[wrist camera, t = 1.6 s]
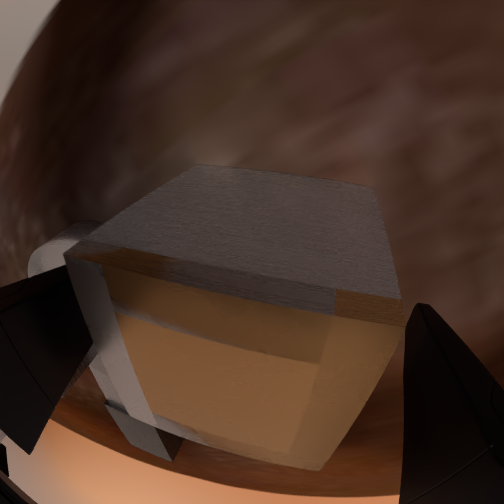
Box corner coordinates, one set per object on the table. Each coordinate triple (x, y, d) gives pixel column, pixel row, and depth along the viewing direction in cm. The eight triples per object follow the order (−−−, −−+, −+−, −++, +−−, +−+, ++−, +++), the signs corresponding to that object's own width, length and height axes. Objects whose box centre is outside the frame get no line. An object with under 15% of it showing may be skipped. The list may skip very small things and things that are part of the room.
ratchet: (45, 212, 13) (-42, 271, 8) (172, 233, 12) (68, 338, 7) (124, 414, 23) (94, 464, 18) (206, 446, 21) (179, 505, 16)
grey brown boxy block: (373, 187, 9) (406, 327, 4) (339, 326, 11) (319, 471, 6) (197, 164, 10) (63, 253, 5) (203, 298, 13) (129, 415, 8)
